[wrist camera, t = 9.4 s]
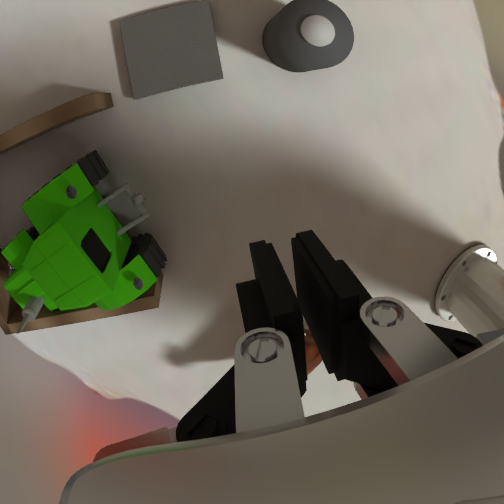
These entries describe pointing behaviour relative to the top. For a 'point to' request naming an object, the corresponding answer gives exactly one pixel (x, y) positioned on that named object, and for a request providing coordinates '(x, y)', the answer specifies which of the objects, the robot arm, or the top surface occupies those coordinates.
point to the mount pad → (171, 48)
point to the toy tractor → (79, 247)
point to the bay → (3, 306)
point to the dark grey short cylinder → (308, 36)
